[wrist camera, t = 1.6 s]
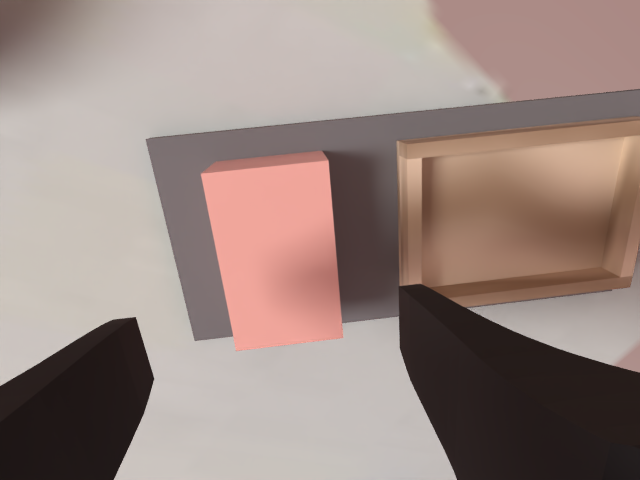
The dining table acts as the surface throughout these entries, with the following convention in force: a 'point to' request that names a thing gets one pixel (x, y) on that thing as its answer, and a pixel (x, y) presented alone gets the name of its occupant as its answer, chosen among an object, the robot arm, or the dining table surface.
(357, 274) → the mat
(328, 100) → the dining table surface
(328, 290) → the card deck
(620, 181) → the tray
